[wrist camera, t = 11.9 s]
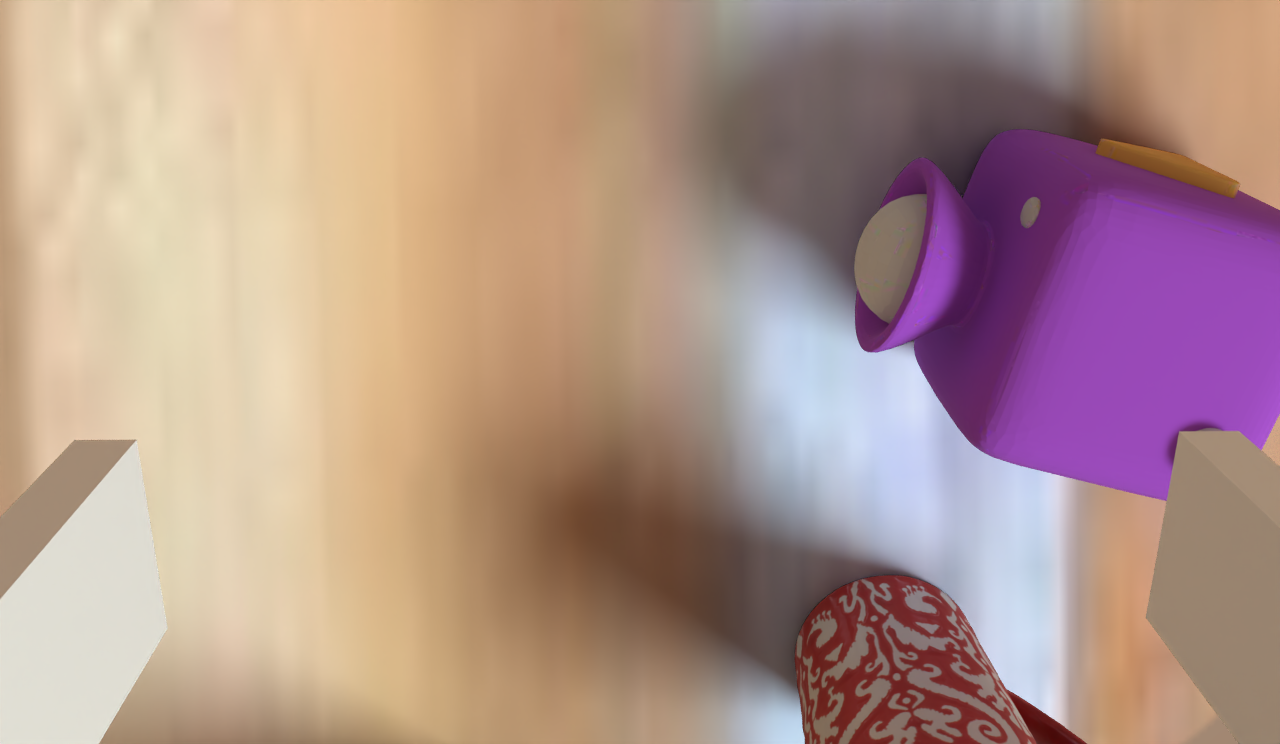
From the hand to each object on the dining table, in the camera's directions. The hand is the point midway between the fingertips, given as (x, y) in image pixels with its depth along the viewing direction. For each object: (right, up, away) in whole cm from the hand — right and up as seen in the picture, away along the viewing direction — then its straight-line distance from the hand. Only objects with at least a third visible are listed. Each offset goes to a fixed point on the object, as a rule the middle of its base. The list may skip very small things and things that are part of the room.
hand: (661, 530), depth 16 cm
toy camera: (+13, +6, +29) cm, 33 cm away
